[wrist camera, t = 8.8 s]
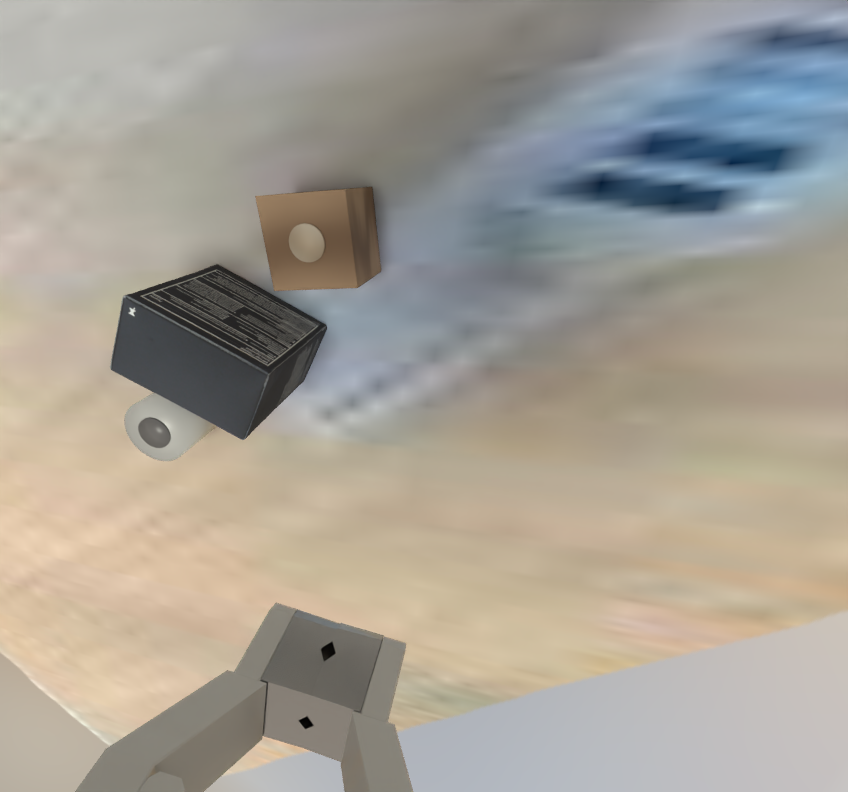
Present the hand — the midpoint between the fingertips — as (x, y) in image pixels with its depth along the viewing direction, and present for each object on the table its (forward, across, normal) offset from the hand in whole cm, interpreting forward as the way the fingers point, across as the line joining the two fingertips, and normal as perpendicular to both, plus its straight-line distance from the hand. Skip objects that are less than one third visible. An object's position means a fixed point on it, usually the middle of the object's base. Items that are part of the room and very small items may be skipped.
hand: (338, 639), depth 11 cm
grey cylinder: (+29, +23, +16) cm, 40 cm away
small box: (+30, +17, +6) cm, 35 cm away
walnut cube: (+30, +11, -3) cm, 32 cm away
